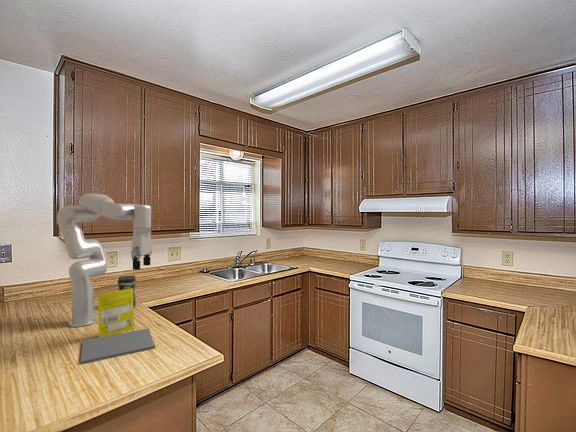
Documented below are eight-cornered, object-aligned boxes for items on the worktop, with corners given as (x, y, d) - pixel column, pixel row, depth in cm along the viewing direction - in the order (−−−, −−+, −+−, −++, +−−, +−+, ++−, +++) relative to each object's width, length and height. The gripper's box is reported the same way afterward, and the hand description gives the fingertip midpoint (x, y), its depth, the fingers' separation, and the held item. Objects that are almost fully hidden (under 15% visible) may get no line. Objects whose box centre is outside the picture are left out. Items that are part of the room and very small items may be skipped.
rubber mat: (83, 342, 135) (83, 340, 135) (148, 330, 148) (148, 328, 148) (80, 364, 116) (80, 361, 116) (155, 348, 130) (155, 345, 129)
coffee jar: (116, 309, 178) (116, 277, 178) (119, 305, 186) (118, 274, 185) (135, 307, 182) (135, 276, 181) (136, 304, 189) (136, 273, 189)
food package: (133, 328, 150) (132, 287, 150) (134, 329, 150) (133, 288, 149) (98, 338, 139) (97, 294, 138) (99, 339, 138) (98, 295, 137)
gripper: (143, 229, 154) (143, 263, 154) (124, 232, 136) (123, 270, 137) (158, 229, 154) (157, 264, 154) (140, 232, 136) (140, 271, 137)
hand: (141, 267), depth 146 cm, fingers open, 9 cm apart
